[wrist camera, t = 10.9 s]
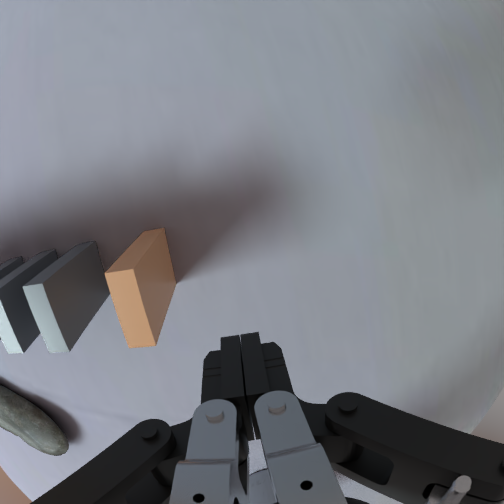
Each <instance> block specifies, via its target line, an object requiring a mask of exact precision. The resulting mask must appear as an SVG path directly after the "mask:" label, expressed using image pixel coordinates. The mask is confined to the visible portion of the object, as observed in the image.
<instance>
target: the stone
mask: <svg viewBox="0 0 504 504" xmlns="http://www.w3.org/2000/svg"><path fill="white" fill-rule="evenodd" d="M0 427H1V428H3V429H5V430H7V431H9V432H11V433H13V434H14V435H16V436H19V437H20V438H21V439H22V440H24V441H25V442H26V443H27V444H28V445H30V446H32V447H34V448H36V449H37V450H39V451H41V452H43V453H46V454H49V455H54V456H59V455H62V454H64V453H66V452H67V450H68V448H69V444H68V440H67V437H66V436H65V434H64V432H63V431H62V430H61V429H60V428H59V427H58V426H57V425H56V423H55V422H54V421H53V420H52V419H50V418H49V417H48V416H47V415H46V414H45V413H44V412H43V411H42V410H40V409H39V408H38V407H36V406H35V405H34V404H32V403H31V402H29V401H28V400H26V399H25V398H23V397H21V396H19V395H17V394H16V393H14V392H12V391H11V390H9V389H7V388H5V387H3V386H1V385H0Z"/></svg>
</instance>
